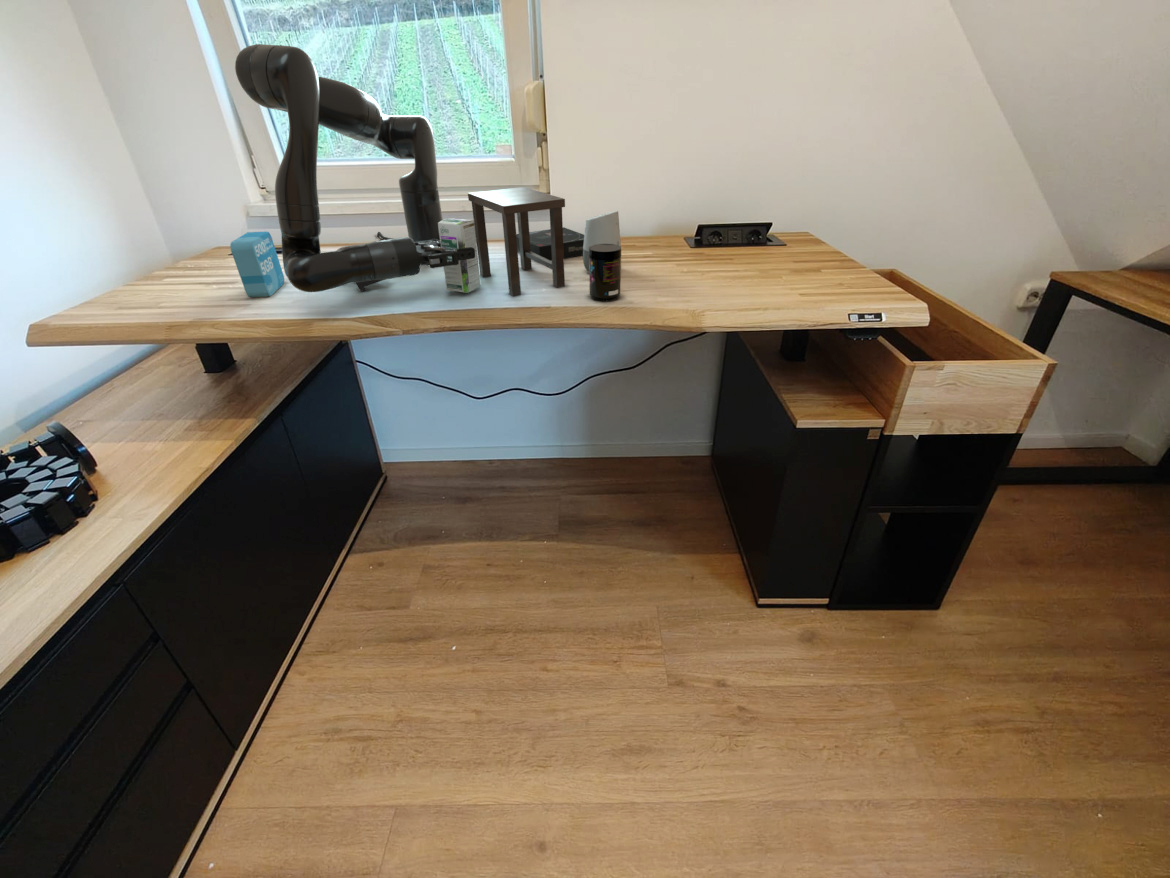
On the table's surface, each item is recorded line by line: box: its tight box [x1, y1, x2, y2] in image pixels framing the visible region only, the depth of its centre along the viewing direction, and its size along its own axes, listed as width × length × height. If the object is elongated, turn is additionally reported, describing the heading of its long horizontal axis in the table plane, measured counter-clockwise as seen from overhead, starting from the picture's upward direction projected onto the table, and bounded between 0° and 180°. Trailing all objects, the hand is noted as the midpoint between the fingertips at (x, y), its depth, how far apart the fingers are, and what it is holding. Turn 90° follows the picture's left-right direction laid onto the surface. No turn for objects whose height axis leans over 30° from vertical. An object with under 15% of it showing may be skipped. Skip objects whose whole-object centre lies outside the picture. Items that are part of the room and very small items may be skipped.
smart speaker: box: [582, 210, 622, 273], centre depth 133 cm, size 10×9×14 cm
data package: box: [229, 231, 285, 298], centre depth 124 cm, size 12×4×12 cm, turn 8°
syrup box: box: [438, 217, 481, 294], centre depth 121 cm, size 6×6×14 cm
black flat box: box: [516, 226, 585, 261], centre depth 152 cm, size 16×17×4 cm
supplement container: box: [588, 244, 622, 302], centre depth 117 cm, size 7×7×10 cm
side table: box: [467, 186, 566, 297], centre depth 126 cm, size 20×14×19 cm
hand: (467, 248), depth 121 cm, fingers open, 8 cm apart
